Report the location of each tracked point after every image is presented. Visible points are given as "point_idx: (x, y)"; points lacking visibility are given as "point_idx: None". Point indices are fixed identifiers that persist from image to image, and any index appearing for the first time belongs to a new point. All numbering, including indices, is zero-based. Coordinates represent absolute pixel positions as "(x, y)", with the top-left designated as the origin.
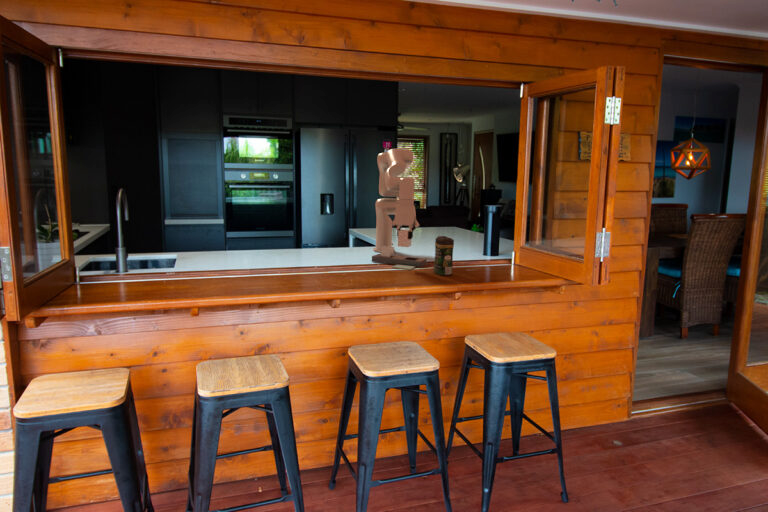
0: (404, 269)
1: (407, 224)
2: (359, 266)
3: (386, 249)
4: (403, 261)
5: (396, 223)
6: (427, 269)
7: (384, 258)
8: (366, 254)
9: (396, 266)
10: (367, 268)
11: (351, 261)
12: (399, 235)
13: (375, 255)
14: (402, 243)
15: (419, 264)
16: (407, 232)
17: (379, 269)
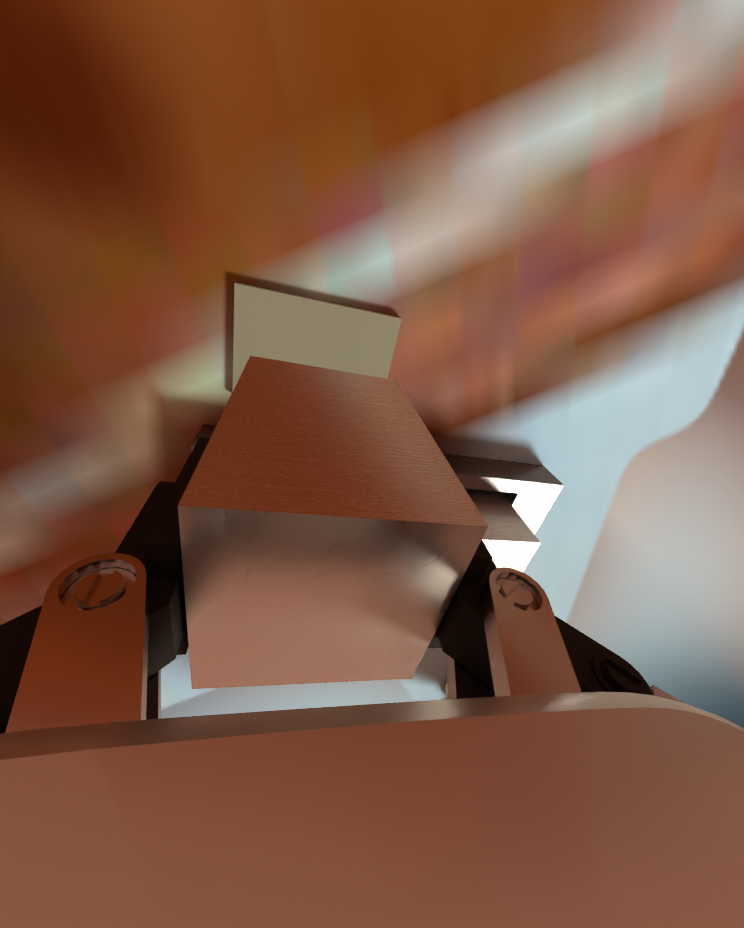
0: (290, 294)
1: (76, 806)
2: (640, 280)
3: (495, 532)
4: None
5: (719, 742)
6: (119, 373)
7: (480, 473)
8: (560, 600)
9: (370, 346)
10: (588, 217)
11: (662, 425)
12: (417, 452)
13: (540, 513)
14: (333, 385)
15: (208, 435)
16: (204, 483)
17: (492, 210)
